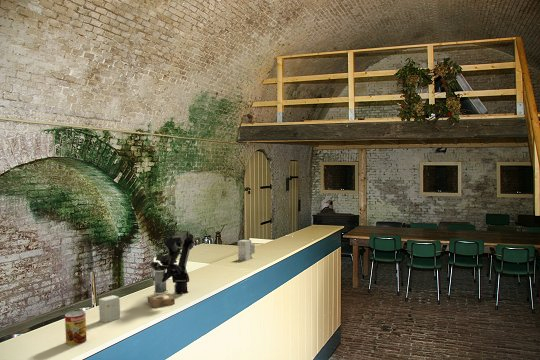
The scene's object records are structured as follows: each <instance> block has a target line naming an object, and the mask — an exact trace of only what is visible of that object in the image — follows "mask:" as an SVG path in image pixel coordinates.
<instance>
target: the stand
mask: <svg viewBox="0 0 540 360" xmlns="http://www.w3.org/2000/svg"><path fill="white" fill-rule="evenodd" d="M175 302H176V301H175V298H174V296H172V295H171V294H169V293H166V294H162V295H153V296H147V304H148V305H149V306H151V307H152V308H153V309H154V308H159V307H165V306H171V305H176V303H175Z"/></svg>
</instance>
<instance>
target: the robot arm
mask: <svg viewBox="0 0 540 360" xmlns="http://www.w3.org/2000/svg"><path fill="white" fill-rule="evenodd" d="M195 244H196V238H195V236H194V235H193V234H191V233H190V231H189V230H181V231H180V232H179V233H178V234H177V235H176V236H170V237H169V238H168V239H166V240H165V242H164V246H165V247H166V249H167V252H168V253H166V254H157V255H156V258H155V261H152V262H151V263H150V267H151V268H152V269H153V271H154V270H155V269H159V268H165V269H166V274H165V276H164V278H163V280H162V282H165V281H166V282H167V281H168V280H169V279H170V278H171V279H172V283H173V284H174V286H173V287H174V294H175V293H176V294H177V295H182V294H186V293H189V291H188V283H189V282H190V275H189V274H188V270H187V265H188V259H189V255H190V251H191V250H192V249H193V248H194V246H195ZM180 248H181V249H180ZM179 256H180V257H179ZM178 257H179V260H178ZM158 261H159V262H158ZM177 262H178V264H177ZM153 281H154V278H153Z"/></svg>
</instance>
